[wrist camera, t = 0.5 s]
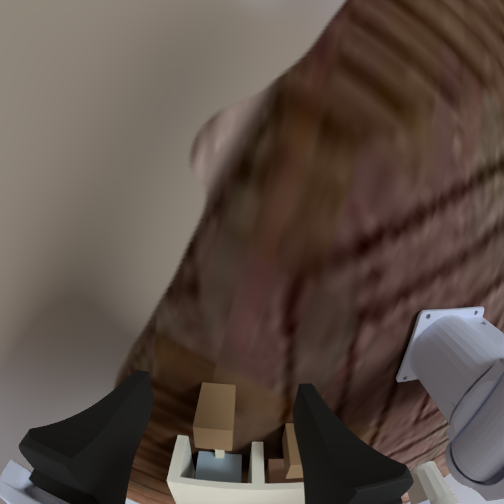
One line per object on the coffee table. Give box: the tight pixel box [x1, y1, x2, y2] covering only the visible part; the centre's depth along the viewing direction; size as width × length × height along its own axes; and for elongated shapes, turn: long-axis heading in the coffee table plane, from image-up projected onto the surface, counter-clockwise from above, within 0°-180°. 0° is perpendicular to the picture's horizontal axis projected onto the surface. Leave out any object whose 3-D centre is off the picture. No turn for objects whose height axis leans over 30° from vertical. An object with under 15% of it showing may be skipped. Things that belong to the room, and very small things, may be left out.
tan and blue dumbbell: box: [193, 382, 242, 483], centre depth 23 cm, size 5×17×6 cm, turn 177°
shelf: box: [167, 435, 305, 504], centre depth 24 cm, size 18×9×7 cm, turn 87°
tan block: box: [265, 423, 304, 484], centre depth 24 cm, size 5×12×6 cm, turn 177°
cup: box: [407, 461, 460, 504], centre depth 25 cm, size 8×8×12 cm
